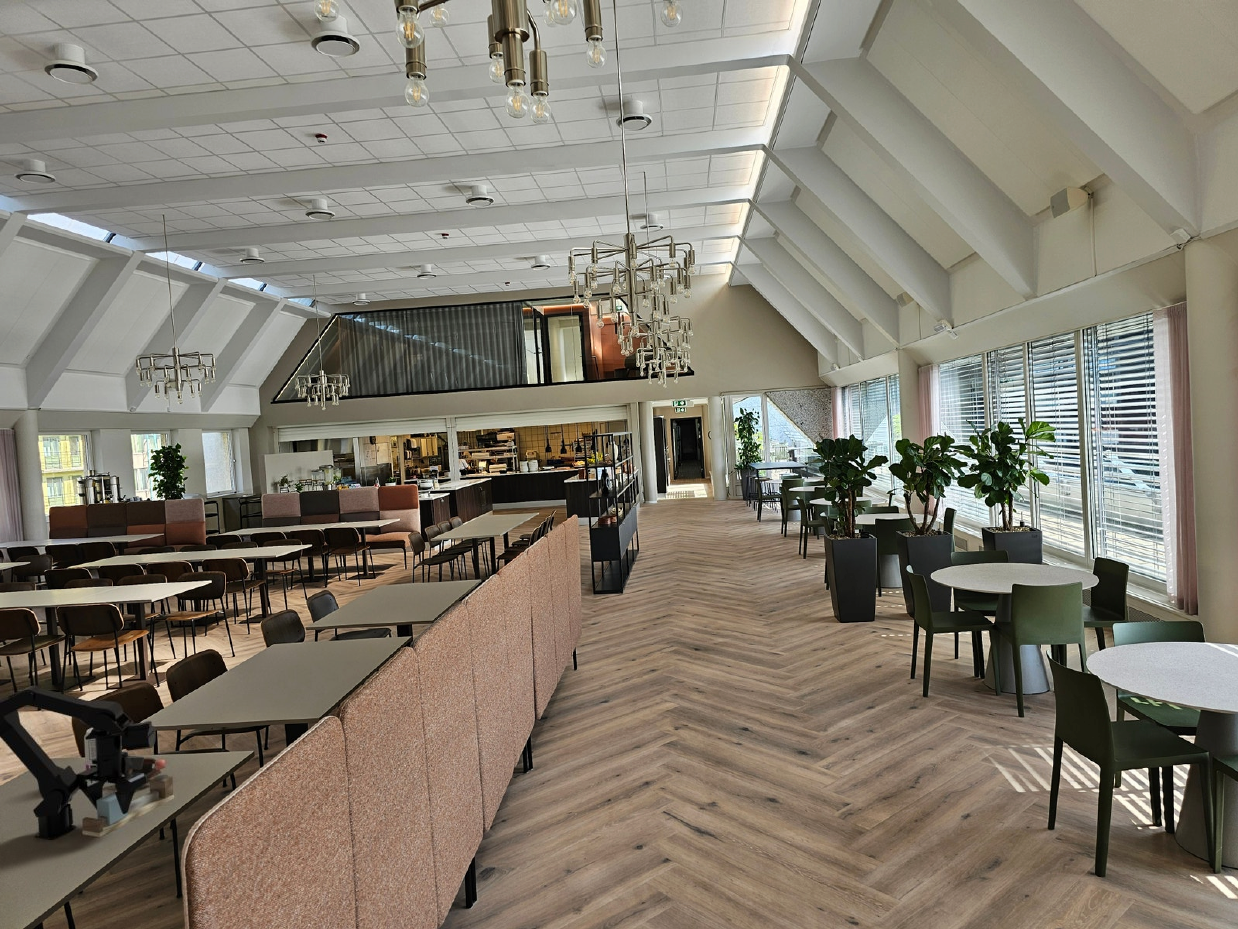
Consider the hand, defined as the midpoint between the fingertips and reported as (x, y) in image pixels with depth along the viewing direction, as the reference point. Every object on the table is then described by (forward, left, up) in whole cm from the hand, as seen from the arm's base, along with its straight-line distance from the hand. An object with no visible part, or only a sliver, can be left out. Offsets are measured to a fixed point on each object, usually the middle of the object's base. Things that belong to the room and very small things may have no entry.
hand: (112, 811), depth 201 cm
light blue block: (0, 0, -2) cm, 2 cm away
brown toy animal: (+22, +16, -4) cm, 27 cm away
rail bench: (+5, 0, -3) cm, 6 cm away
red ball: (+15, 0, +5) cm, 16 cm away
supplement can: (+22, +31, -4) cm, 38 cm away
